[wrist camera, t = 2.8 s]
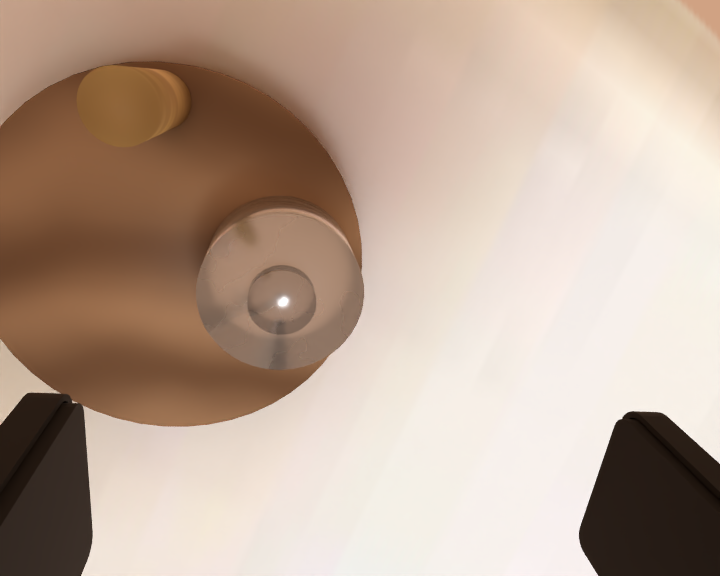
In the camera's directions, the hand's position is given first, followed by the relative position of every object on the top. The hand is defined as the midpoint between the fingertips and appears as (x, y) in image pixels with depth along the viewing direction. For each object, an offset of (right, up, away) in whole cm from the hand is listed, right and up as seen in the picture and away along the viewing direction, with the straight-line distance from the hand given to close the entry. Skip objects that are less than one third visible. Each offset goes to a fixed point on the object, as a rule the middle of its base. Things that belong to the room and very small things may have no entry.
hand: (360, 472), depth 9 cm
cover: (-4, +4, +17) cm, 18 cm away
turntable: (-9, +5, +18) cm, 20 cm away
